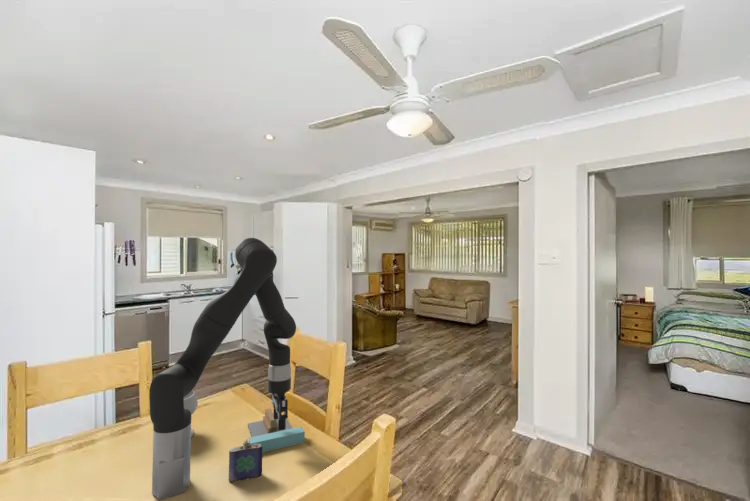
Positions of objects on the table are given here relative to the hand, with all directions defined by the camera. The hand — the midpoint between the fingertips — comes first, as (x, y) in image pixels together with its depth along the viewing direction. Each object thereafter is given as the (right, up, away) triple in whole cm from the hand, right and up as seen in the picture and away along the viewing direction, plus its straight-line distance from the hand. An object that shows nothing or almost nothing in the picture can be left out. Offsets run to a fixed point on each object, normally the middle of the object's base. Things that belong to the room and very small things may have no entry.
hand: (279, 424), depth 119 cm
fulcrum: (-6, -8, +10) cm, 14 cm away
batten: (-1, -8, +1) cm, 8 cm away
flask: (-5, -8, -16) cm, 19 cm away
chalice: (-38, -7, +5) cm, 39 cm away
